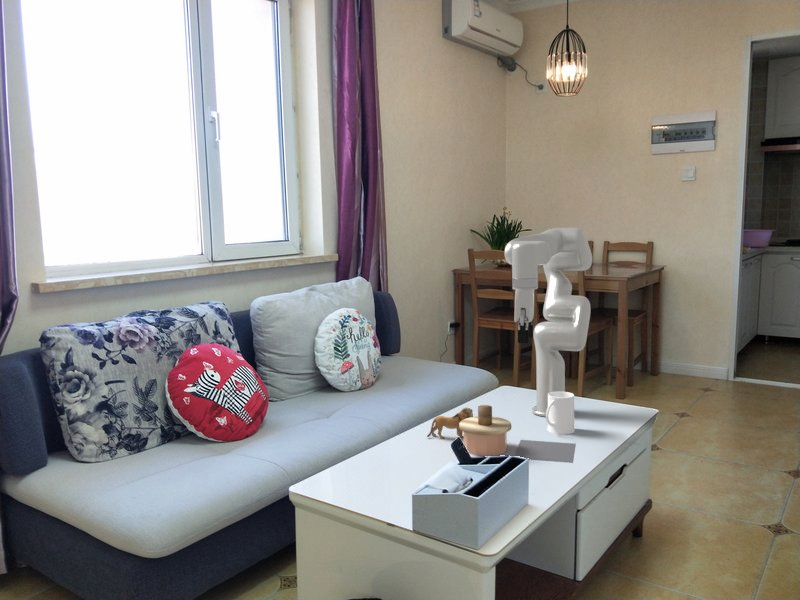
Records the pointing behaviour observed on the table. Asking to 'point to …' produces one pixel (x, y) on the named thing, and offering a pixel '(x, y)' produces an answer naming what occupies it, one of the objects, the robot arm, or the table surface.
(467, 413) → the lion figurine
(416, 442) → the table surface
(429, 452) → the table surface
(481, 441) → the bowl
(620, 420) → the table surface
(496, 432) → the lid
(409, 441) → the table surface
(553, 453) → the mat
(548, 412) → the mug
